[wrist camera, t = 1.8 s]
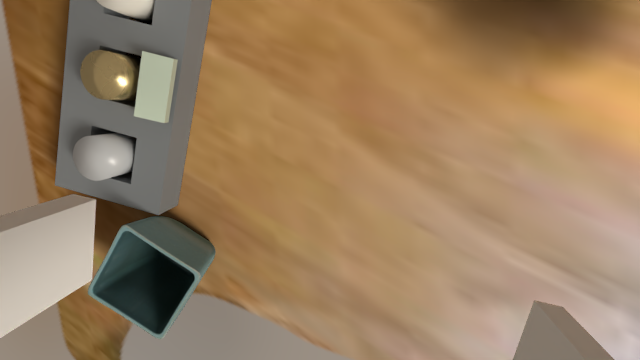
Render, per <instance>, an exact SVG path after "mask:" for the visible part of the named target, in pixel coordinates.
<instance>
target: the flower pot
mask: <svg viewBox="0 0 640 360" xmlns="http://www.w3.org/2000/svg"><path fill="white" fill-rule="evenodd" d="M214 257H215V248H214V246H213V245H212V243H211V242H210V241H208V240H206V239H205V238H203V237H202V236H200V235H199V234H197V233H196V232H194V231H192V230H191V229H189V228H188V227H186V226H185V225H183V224H182V223H180V222H178V221H176V220H174V219H172V218H169V217H164V216H154V217H149V218H145V219H142V220H139V221H135V222H132V223H129V224H125V225H123V226H122V227H121V228H120V229H119V231H118V233H117V235H116V237H115V239H114V241H113V243H112V245H111V247H110V249H109V251H108V253H107V255H106V257H105V259H104V261H103V262H102V264H101V266H100V268H99V270H98V271H97V273H96V275H95V277H94V279H93V281H92V282H91V284H90V286H89V288H88V294H89V295H90V296H91V297H93V298H94V299H96V300H97V301H99V302H100V303H102V304H103V305H105V306H107V307H109V308H110V309H112V310H114V311H115V312H117V313H118V314H120V315H121V316H123V317H124V318H126V319H128V320H129V321H131V322H132V323H134V324H136V325H137V326H139V327H140V328H142V329H143V330H145V331H146V332H148V333H149V334H151V335H152V336H154V337H156V338H158V339H162V338H163V337H164V336H165V335H166V333H167V332H168V330H169V329H170V327H171V326H172V324H173V323H174V321H175V320H176V318H177V317H178V315H179V314H180V312H181V311H182V309H183V307H184V306H185V304H186V303H187V301H188V299H189V298H190V296H191V295H192V293H193V291H194V290H195V288H196V287H197V285H198V283H199V282H200V280H201V278H202V277H203V275H204V274H205V272H206V270H207V269H208V267H209V266H210V264H211V263H212V261H213V259H214Z"/></svg>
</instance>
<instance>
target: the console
mask: <svg viewBox="0 0 640 360" xmlns="http://www.w3.org/2000/svg"><path fill="white" fill-rule="evenodd" d="M211 1H212V0H155V4H154V12H153V19H152V25H148V24H145V23H141V22H137V21H133V20H130V17H129V16H126V15H124V14H121V13H118V12H116V11H113V10H111V9H108V8H106V7H104V6H102V5H101V4H99V3H98V2H97V1H96V0H70V6H69V18H68V31H67V43H66V55H65V67H64V80H63V92H62V104H61V116H60V129H59V141H58V153H57V166H56V178H55V185H56V186H59V187H63V188H66V189H70V190H73V191H77V192H80V193H84V194H87V195H90V196H94V197H97V198H101V199H104V200H108V201H111V202H115V203H118V204H122V205H125V206H128V207H132V208H135V209H139V210H142V211H146V212H149V213H153V214H156V215H160V214H162V213H164V212H166V211H167V210H169V209H171V208H173V207H175V206H177V205H178V201H179V195H180V189H181V182H182V176H183V170H184V164H185V158H186V152H187V146H188V140H189V134H190V128H191V122H192V116H193V110H194V104H195V98H196V92H197V86H198V80H199V74H200V68H201V62H202V56H203V50H204V43H205V37H206V31H207V25H208V19H209V13H210V7H211ZM96 50H104V51H109V52H113V53H118V54H123V55H126V52H128V53H132V54H135V55H139V56H142V51H145V52H149V53H153V54H156V55H160V56H164V57H168V58H172V59H176V60H178V62H177V69H176V75H175V82H174V89H173V95H172V102H171V108H170V115H169V122H167V123H161V122H157V121H152V120H148V119H144V118H139V117H135V116H134V111H135V103H136V101H133V100H102V99H98V98H96V97H94V96H93V95H91V94H90V93H89V92H88V91H87V90H86V88H85V87H84V85H83V83H82V80H81V74H80V69H81V64H82V62H83V60H84V58H85V57H86V56H87V55H88V54H89V53H91V52H93V51H96ZM111 133H121V134H124V135H128V136H132V137H135V138H137V141H136V148H135V156H134V164H133V171H132V172H129V173H126V174H122V175H118V176H115V177H111V178H108V179H104V180H100V181H94V180H90V179H88V178H86V177H84V176H83V175H82V174H81V173H80V172H79V171H78V170H77V168H76V166H75V164H74V161H73V149H74V146H75V144H76V143H77V142H78V140H80V139H81V138H83V137H85V136H92V135H102V134H111Z"/></svg>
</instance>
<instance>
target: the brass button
mask: <svg viewBox="0 0 640 360" xmlns="http://www.w3.org/2000/svg"><path fill="white" fill-rule="evenodd" d="M140 64H141V58H137V57H132V56H127V55H123V54H118V53H113V52H109V51H104V50H96V51H93V52H91V53H89V54H88V55H87V56H86V57H85V58H84V60H83V62H82V64H81V69H80V74H81V80H82V83H83V85H84V87H85V88H86V90H87V91H88V92H89V93H90V94H91V95H93V96H94V97H96V98H98V99H102V100H134V101H136V95H137V87H138V79H139V72H140Z"/></svg>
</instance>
